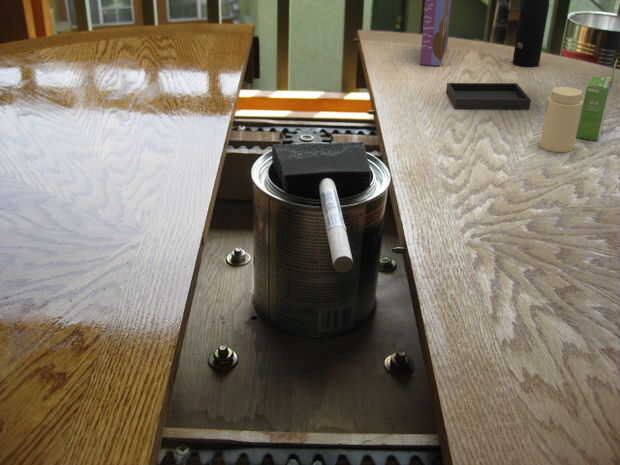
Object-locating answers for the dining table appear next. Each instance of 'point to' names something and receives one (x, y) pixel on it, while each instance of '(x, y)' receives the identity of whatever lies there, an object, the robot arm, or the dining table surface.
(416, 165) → the dining table surface
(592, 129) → the ink box
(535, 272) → the dining table surface
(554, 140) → the jar
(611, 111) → the dining table surface
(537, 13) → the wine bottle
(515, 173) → the dining table surface
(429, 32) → the cereal box
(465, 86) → the tray
